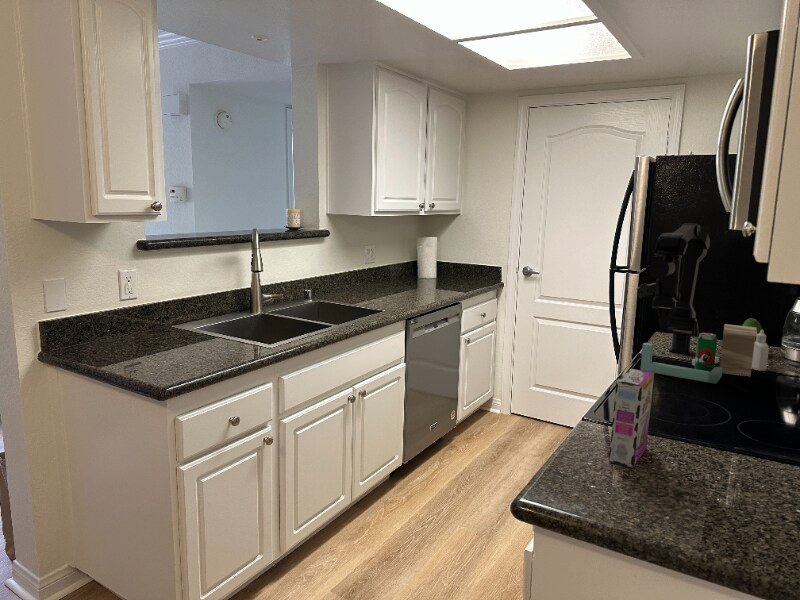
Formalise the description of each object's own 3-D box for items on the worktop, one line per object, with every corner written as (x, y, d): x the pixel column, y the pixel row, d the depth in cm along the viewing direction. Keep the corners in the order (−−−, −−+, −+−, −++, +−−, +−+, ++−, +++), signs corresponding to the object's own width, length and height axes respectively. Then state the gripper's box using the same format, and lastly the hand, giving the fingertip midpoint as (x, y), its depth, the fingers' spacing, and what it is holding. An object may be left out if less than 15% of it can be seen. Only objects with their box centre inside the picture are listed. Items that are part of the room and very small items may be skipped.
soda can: (717, 376, 169) (721, 336, 167) (702, 377, 168) (706, 336, 165) (704, 371, 174) (708, 332, 171) (689, 372, 172) (693, 332, 170)
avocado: (738, 355, 192) (742, 319, 190) (732, 349, 200) (736, 315, 198) (765, 357, 190) (770, 321, 188) (758, 351, 197) (763, 316, 195)
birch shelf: (719, 371, 173) (724, 324, 171) (750, 376, 169) (756, 327, 167) (718, 378, 166) (723, 329, 164) (750, 383, 162) (757, 332, 160)
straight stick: (712, 361, 185) (713, 355, 185) (718, 363, 183) (719, 357, 183) (691, 365, 181) (692, 359, 180) (697, 367, 179) (698, 361, 178)
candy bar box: (635, 469, 110) (642, 386, 107) (608, 462, 113) (614, 380, 110) (648, 449, 119) (655, 371, 116) (623, 443, 122) (629, 367, 119)
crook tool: (648, 363, 181) (650, 338, 180) (721, 376, 169) (724, 349, 168) (640, 370, 174) (642, 344, 172) (716, 383, 162) (719, 355, 160)
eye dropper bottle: (749, 369, 175) (753, 331, 173) (749, 365, 180) (753, 327, 178) (766, 372, 173) (771, 332, 171) (765, 367, 178) (770, 329, 176)
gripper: (644, 270, 188) (640, 318, 191) (635, 277, 172) (631, 328, 175) (682, 273, 183) (677, 321, 185) (677, 280, 167) (672, 333, 169)
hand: (664, 326), depth 179 cm, fingers open, 9 cm apart
